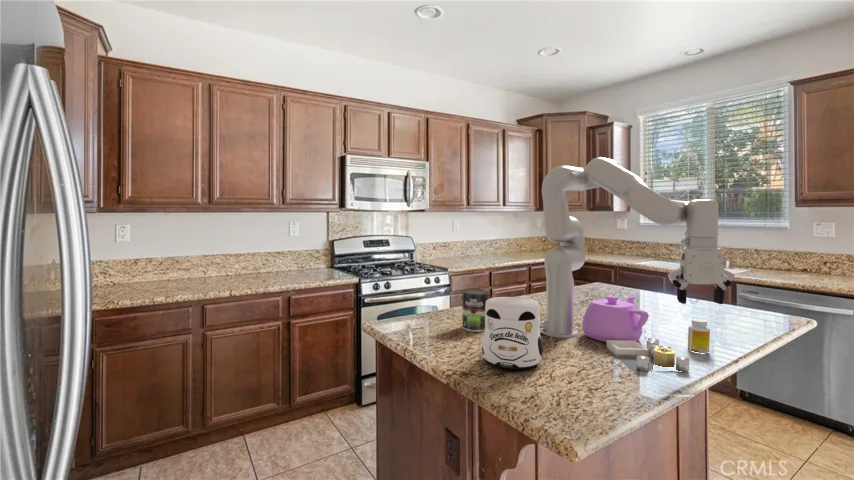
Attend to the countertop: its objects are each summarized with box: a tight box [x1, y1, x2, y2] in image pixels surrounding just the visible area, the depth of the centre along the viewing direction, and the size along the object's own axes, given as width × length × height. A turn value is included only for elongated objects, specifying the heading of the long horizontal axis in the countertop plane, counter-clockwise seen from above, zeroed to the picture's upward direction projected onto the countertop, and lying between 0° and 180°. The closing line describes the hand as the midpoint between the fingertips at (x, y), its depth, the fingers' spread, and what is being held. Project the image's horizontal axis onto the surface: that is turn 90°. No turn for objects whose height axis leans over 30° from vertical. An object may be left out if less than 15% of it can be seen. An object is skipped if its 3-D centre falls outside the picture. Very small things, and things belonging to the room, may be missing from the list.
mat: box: [614, 354, 654, 373], centre depth 121 cm, size 15×20×1 cm
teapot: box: [581, 294, 649, 343], centre depth 141 cm, size 23×21×15 cm
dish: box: [606, 340, 649, 358], centre depth 127 cm, size 9×9×2 cm
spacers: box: [636, 337, 690, 373], centre depth 120 cm, size 14×20×4 cm
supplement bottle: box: [687, 318, 711, 353], centre depth 127 cm, size 6×6×10 cm
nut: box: [654, 348, 676, 367], centre depth 117 cm, size 6×5×4 cm
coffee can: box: [461, 289, 491, 333], centre depth 155 cm, size 10×10×14 cm
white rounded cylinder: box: [481, 296, 544, 370], centre depth 119 cm, size 17×17×18 cm
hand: (700, 303), depth 117 cm, fingers open, 9 cm apart
